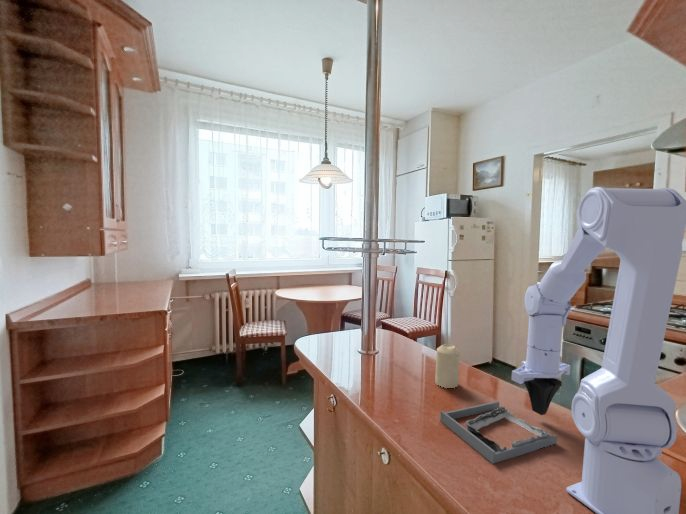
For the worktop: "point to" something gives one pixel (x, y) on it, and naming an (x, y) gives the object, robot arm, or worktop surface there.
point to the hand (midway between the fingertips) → (538, 412)
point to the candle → (447, 366)
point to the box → (481, 446)
